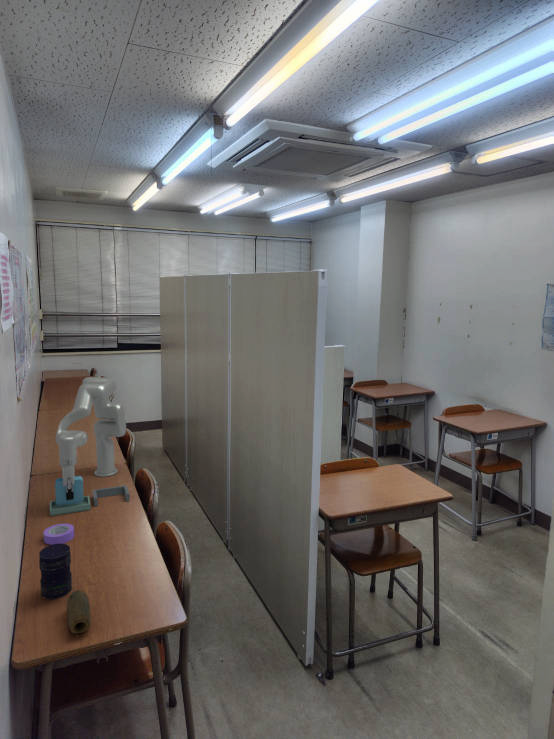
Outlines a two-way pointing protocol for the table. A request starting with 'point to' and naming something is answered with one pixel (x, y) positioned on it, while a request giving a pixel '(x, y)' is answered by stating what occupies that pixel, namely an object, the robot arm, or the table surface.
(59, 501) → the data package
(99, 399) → the robot arm
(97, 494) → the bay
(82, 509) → the tray
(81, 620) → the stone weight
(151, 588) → the table surface
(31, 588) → the table surface
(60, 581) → the storage jar
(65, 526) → the masking tape
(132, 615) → the table surface
